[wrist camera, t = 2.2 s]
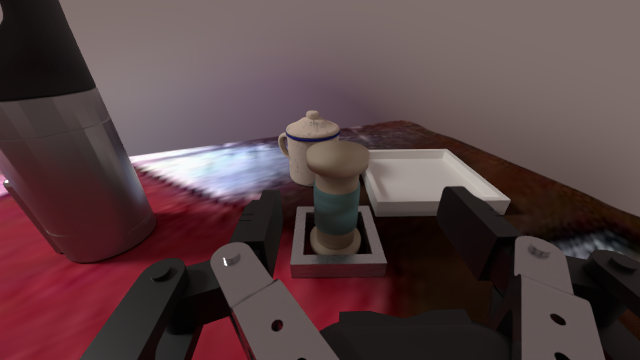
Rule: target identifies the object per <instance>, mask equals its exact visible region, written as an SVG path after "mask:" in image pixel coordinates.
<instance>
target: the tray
mask: <svg viewBox="0 0 640 360" xmlns="http://www.w3.org/2000/svg"><path fill="white" fill-rule="evenodd" d="M369 152H370V155H369V165H368V168H367V170H366V171H364V172H363V173H361V175H362V178H363V181H364V184H365V187H366V190H367V193H368V196H369V199H370V202H371V205H372V208H373V210H374V213H375V216H376V217H383V216H437V210H438V206H439V202H440V199H441V195H442V192H443V189H444V188H445V187H446V186H464V187H465V188H466V189H467V190H468V191H470V192H471V193H472V194H473V195H474V196H476V197H478V198H480V199H482V200H483V201H485V202H487V203H488V204H489V205H490V206H491V207H492V208H493V209H494V211H497V212H498V213H499V214H500V215H504V214H505V212H506V209H507V207H508V205H509V203H510V201H511V200H510V199H509V198H508V197H506V196H505V195H504V194H503V193H501V192H500V191H499V190H498V189H496V188H495V187H494V186H493V185H491V184H490V183H489V182H488V181H486V180H485V179H484V178H482V177H481V176H480V175H479V174H477V173H476V172H475V171H474V170H472V169H471V168H470V167H469V166H467V165H466V164H465V163H464V162H462V161H461V160H460V159H459V158H457V157H456V156H455V155H454V154H452V153H451V152H450V151H449V150H447V149H418V150H369Z"/></svg>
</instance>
